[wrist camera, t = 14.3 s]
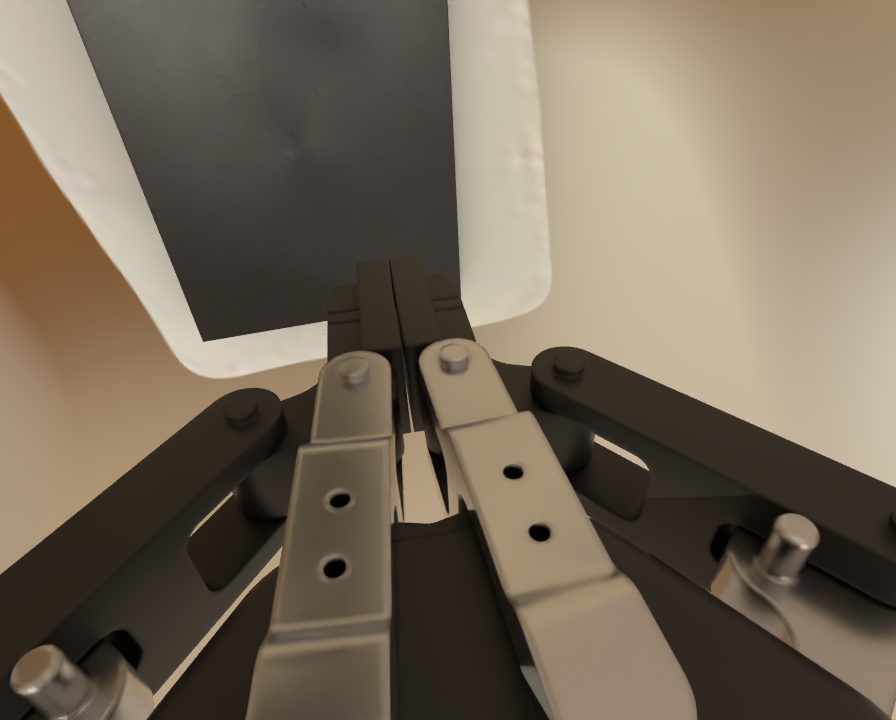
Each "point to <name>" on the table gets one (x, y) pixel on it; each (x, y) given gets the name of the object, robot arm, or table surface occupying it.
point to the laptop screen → (282, 143)
